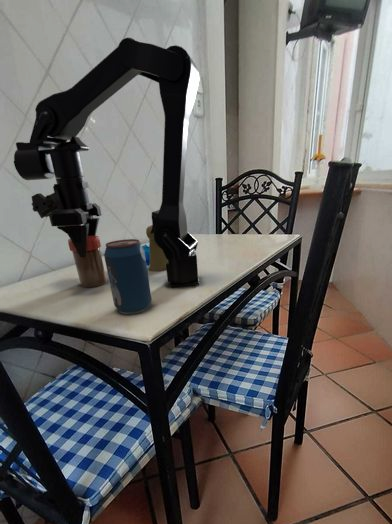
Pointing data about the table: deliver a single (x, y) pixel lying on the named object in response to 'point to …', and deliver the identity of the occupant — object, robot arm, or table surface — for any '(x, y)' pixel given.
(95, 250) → the jar
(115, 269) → the soda can
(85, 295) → the table surface
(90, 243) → the lid
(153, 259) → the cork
